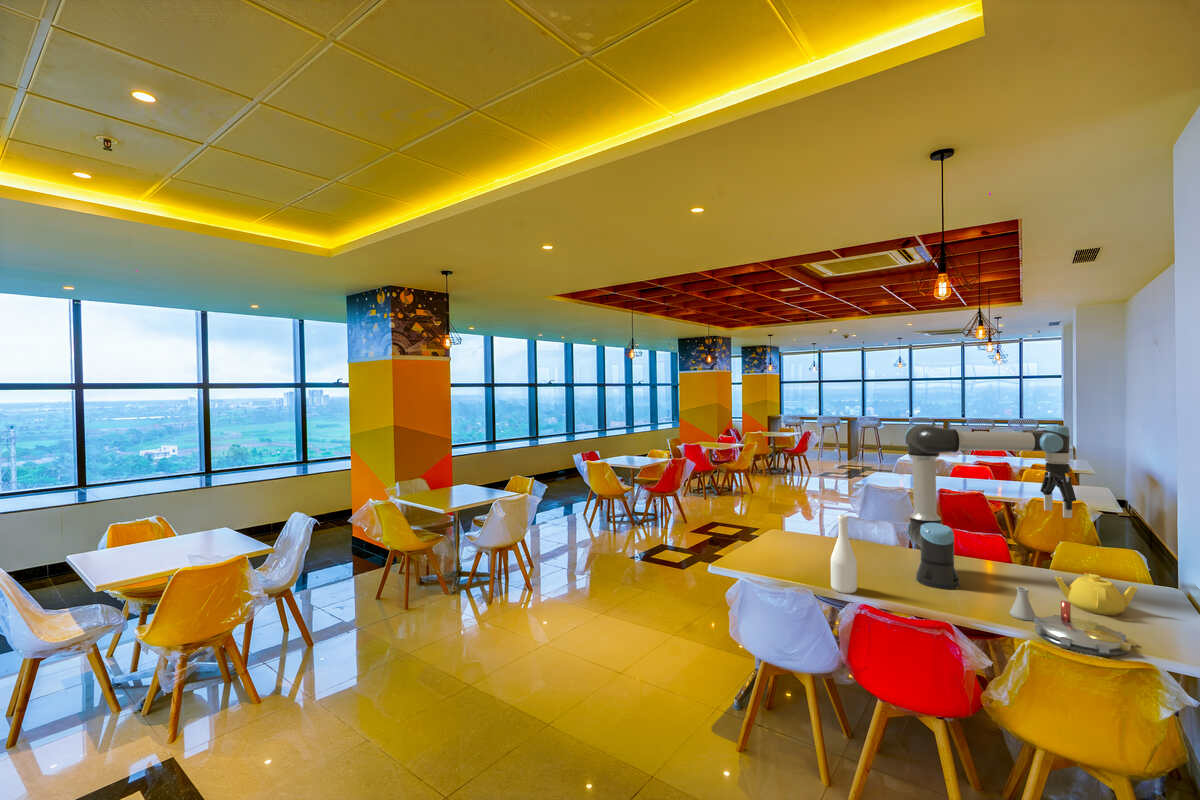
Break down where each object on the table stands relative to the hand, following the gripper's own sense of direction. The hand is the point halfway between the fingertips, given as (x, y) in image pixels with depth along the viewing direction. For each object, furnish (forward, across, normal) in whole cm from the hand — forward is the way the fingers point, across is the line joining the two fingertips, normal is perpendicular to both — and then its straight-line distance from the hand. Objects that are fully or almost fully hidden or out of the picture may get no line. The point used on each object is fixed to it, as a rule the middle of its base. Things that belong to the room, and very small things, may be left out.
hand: (1057, 513), depth 217 cm
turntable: (+26, -60, +24) cm, 70 cm away
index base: (+28, -60, +22) cm, 69 cm away
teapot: (+28, -30, +3) cm, 41 cm away
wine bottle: (+28, -30, +87) cm, 96 cm away
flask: (+28, -44, +32) cm, 61 cm away
